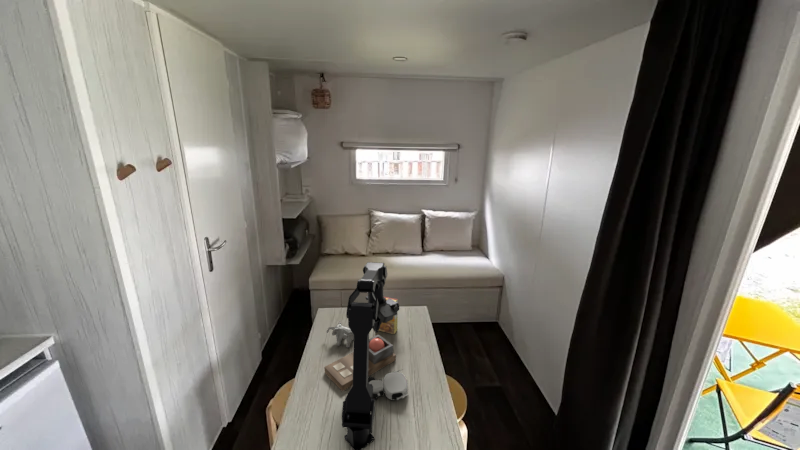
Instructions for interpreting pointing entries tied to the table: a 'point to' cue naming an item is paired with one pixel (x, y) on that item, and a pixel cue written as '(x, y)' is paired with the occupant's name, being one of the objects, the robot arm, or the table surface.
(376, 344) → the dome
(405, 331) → the table surface
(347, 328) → the elephant statuette
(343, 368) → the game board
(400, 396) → the robot toy
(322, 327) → the table surface
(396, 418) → the table surface
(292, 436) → the table surface
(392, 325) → the candy box
